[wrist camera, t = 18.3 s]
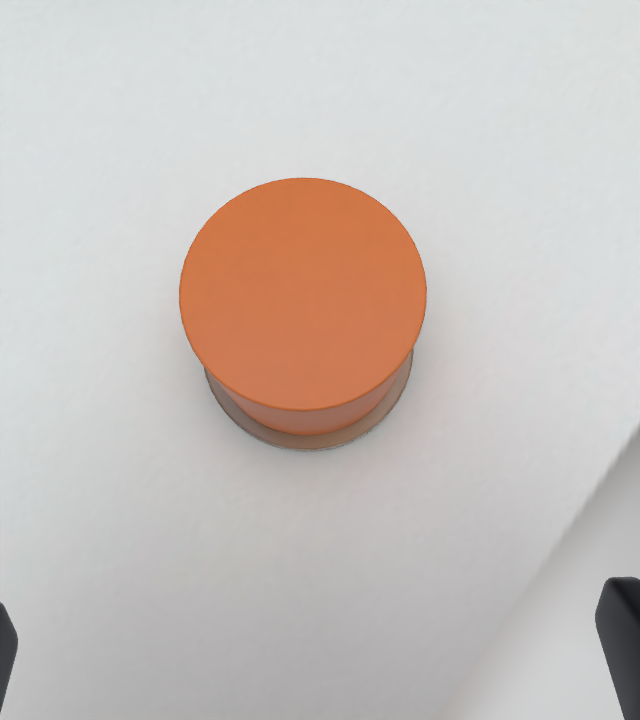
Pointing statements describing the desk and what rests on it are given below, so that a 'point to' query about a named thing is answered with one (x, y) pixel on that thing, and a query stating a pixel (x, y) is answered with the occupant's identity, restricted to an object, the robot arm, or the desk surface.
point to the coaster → (313, 441)
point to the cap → (303, 302)
